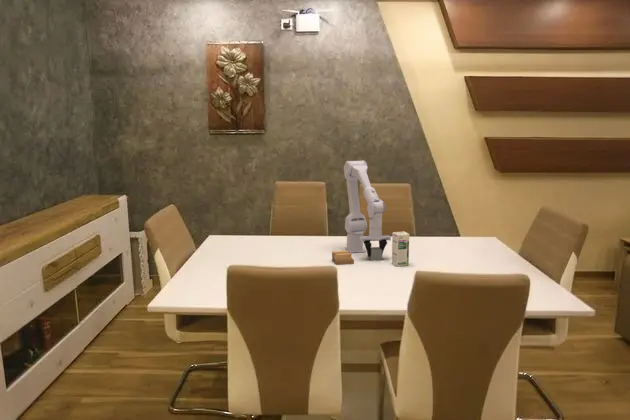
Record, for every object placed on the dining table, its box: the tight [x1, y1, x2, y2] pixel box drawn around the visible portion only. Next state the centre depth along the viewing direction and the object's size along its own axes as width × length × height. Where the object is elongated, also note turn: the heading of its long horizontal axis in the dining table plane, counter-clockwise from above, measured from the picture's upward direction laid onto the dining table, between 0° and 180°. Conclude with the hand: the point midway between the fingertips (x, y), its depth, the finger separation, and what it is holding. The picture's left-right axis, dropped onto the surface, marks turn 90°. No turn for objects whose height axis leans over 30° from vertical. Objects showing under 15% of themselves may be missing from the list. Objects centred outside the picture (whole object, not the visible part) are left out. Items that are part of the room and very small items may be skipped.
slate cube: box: [367, 246, 383, 262], centre depth 250 cm, size 5×5×5 cm
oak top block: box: [331, 249, 352, 260], centre depth 245 cm, size 7×7×2 cm
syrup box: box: [391, 231, 410, 267], centre depth 241 cm, size 6×6×14 cm
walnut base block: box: [331, 256, 355, 266], centre depth 245 cm, size 8×8×2 cm
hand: (374, 256), depth 251 cm, fingers closed on slate cube, 5 cm apart
